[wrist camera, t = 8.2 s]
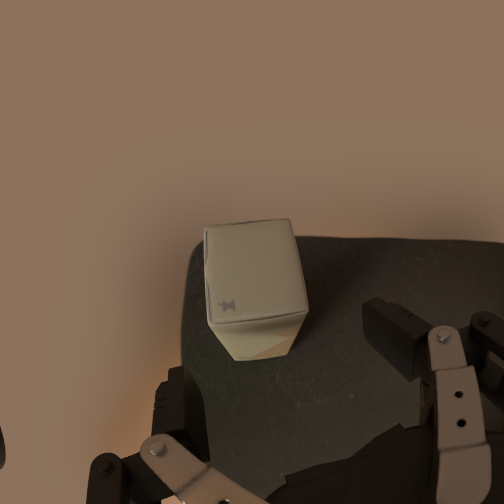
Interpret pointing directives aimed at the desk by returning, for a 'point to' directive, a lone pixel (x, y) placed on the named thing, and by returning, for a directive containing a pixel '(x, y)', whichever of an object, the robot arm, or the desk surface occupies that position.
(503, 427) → the desk surface
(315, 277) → the desk surface
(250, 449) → the desk surface
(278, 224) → the box
